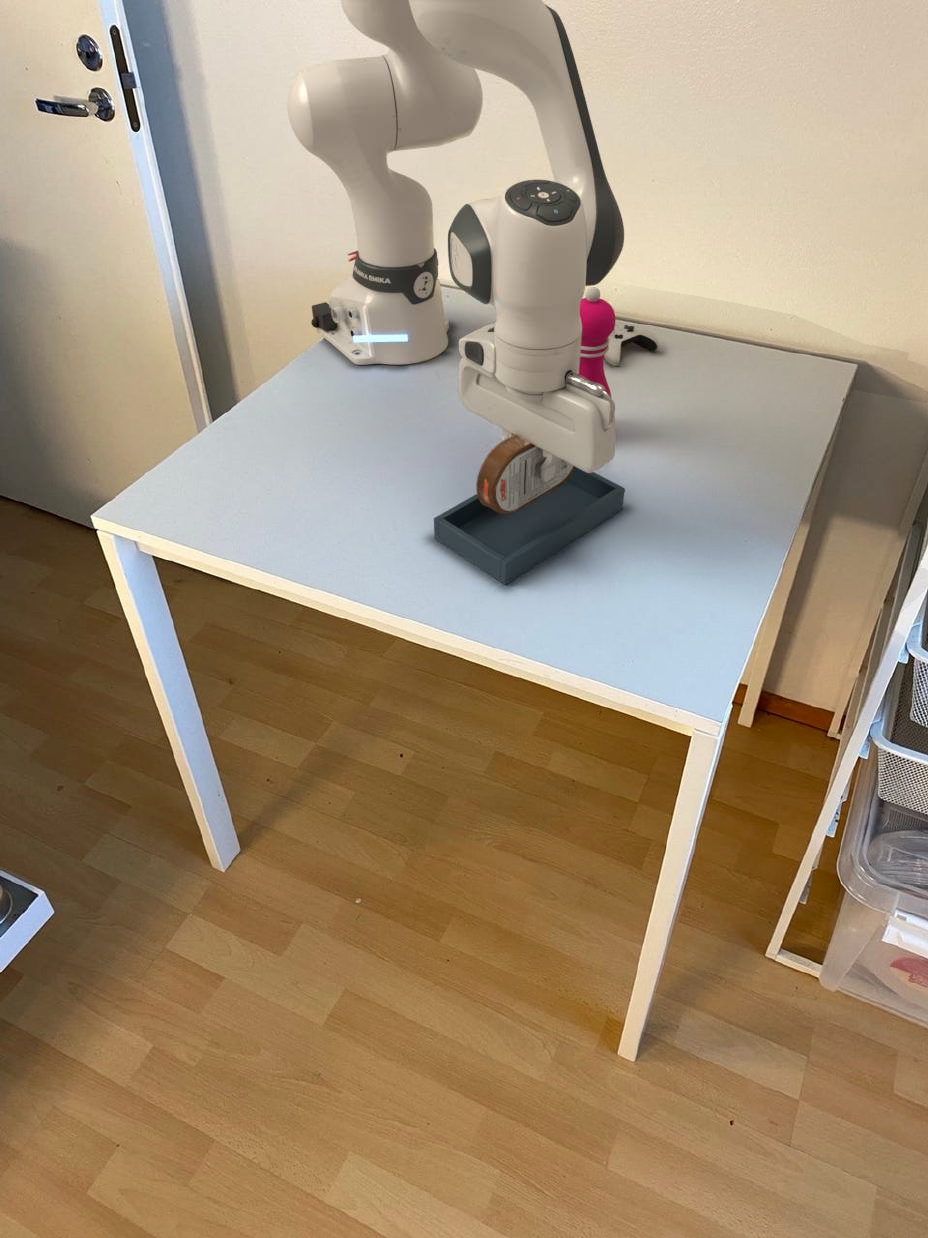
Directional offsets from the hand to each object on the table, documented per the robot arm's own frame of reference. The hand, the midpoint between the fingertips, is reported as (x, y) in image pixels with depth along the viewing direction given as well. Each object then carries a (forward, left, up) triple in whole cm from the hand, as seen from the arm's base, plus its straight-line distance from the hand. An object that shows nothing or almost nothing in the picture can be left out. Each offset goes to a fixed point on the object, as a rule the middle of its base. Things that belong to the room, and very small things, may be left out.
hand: (532, 470), depth 103 cm
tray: (0, 0, -8) cm, 8 cm away
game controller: (-20, +42, -8) cm, 47 cm away
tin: (0, 0, -4) cm, 4 cm away
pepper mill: (-9, +20, -8) cm, 23 cm away
